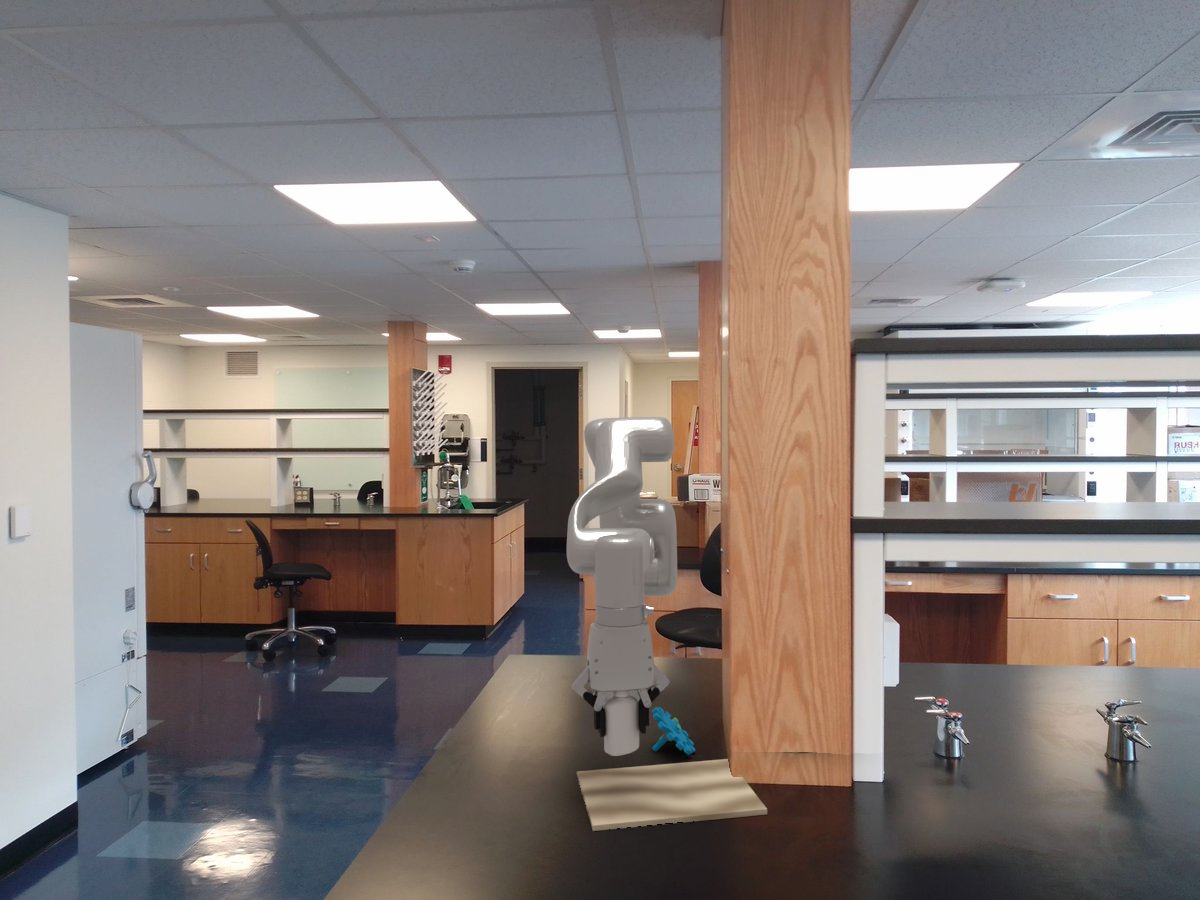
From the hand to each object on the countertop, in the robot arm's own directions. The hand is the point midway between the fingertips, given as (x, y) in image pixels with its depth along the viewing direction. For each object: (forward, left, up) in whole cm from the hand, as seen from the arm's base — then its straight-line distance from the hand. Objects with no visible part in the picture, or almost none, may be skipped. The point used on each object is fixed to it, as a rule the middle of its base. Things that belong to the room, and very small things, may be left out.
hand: (621, 730), depth 121 cm
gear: (-16, +12, -11) cm, 23 cm away
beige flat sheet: (0, +7, -11) cm, 13 cm away
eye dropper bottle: (0, 0, -3) cm, 3 cm away
